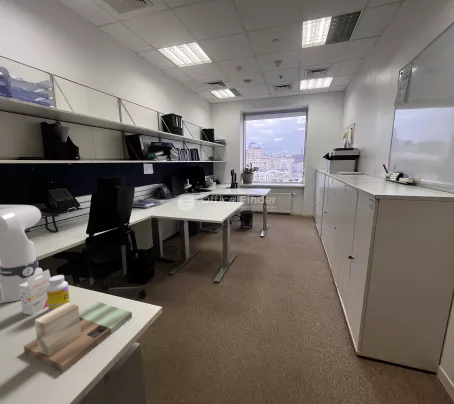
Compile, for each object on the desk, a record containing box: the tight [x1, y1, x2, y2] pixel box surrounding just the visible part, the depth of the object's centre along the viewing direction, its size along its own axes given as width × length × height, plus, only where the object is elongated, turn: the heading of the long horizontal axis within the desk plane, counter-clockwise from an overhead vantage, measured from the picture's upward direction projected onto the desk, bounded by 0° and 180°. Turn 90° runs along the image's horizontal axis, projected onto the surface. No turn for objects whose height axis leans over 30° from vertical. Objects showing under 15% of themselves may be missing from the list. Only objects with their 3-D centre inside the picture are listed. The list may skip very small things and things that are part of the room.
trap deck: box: [23, 301, 133, 373], centre depth 72 cm, size 18×24×2 cm
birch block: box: [34, 302, 81, 357], centre depth 65 cm, size 5×9×10 cm, turn 158°
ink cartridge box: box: [19, 269, 51, 316], centre depth 84 cm, size 9×5×15 cm, turn 168°
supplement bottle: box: [46, 274, 71, 312], centre depth 84 cm, size 7×7×13 cm
